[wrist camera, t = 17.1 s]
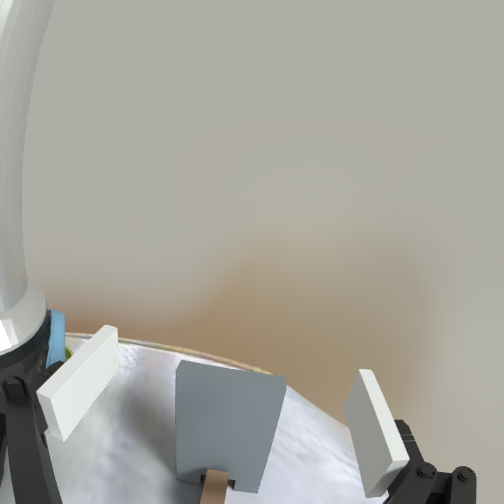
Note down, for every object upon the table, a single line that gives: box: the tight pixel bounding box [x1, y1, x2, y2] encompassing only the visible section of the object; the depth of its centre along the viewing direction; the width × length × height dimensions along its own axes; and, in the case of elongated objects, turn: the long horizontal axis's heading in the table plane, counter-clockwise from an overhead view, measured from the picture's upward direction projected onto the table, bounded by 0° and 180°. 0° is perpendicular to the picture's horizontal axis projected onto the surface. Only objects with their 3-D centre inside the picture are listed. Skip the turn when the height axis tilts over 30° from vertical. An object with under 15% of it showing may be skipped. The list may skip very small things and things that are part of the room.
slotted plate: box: [175, 360, 286, 493], centre depth 29 cm, size 10×2×18 cm, turn 86°
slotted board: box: [200, 469, 229, 504], centre depth 34 cm, size 24×2×5 cm, turn 176°
